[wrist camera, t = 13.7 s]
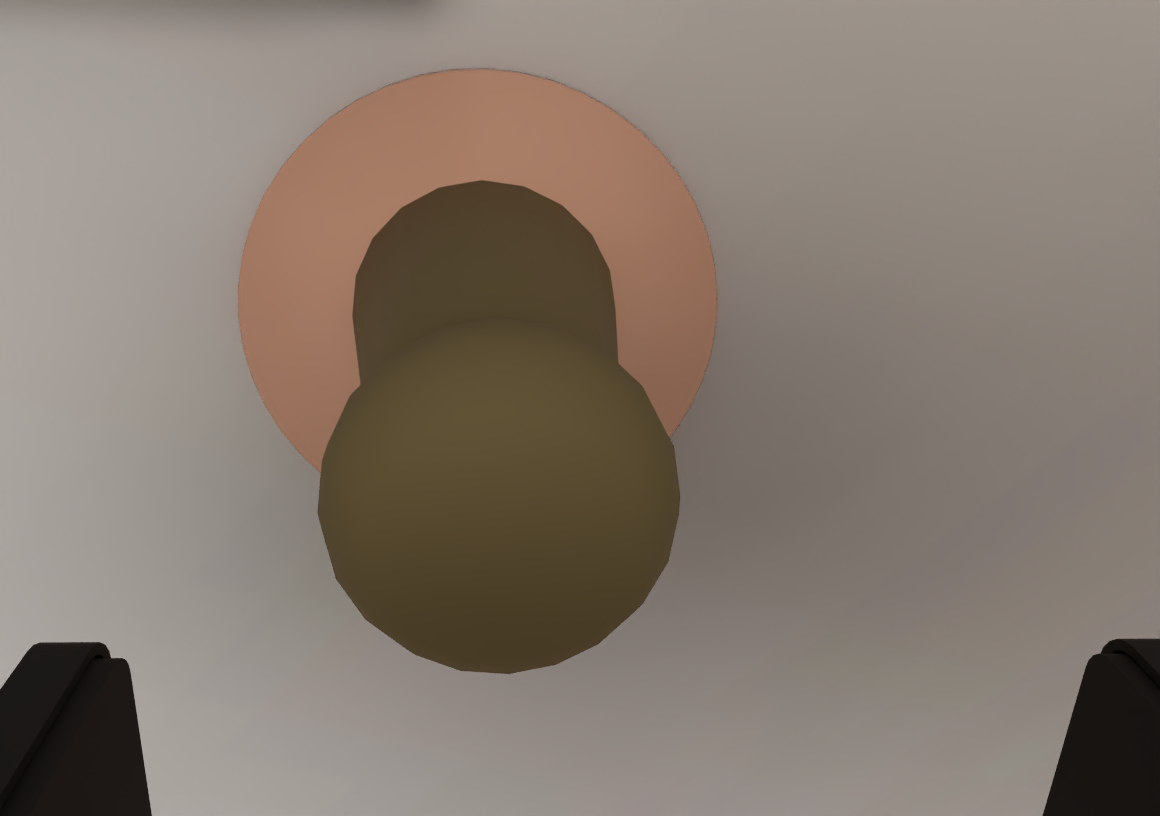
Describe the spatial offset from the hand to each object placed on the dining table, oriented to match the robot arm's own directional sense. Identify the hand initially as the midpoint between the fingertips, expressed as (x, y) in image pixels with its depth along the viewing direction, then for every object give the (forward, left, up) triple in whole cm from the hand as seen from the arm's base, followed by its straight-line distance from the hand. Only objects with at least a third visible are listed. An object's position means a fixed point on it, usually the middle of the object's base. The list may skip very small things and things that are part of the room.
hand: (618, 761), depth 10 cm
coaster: (+1, 0, -15) cm, 15 cm away
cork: (+1, 0, -15) cm, 15 cm away
